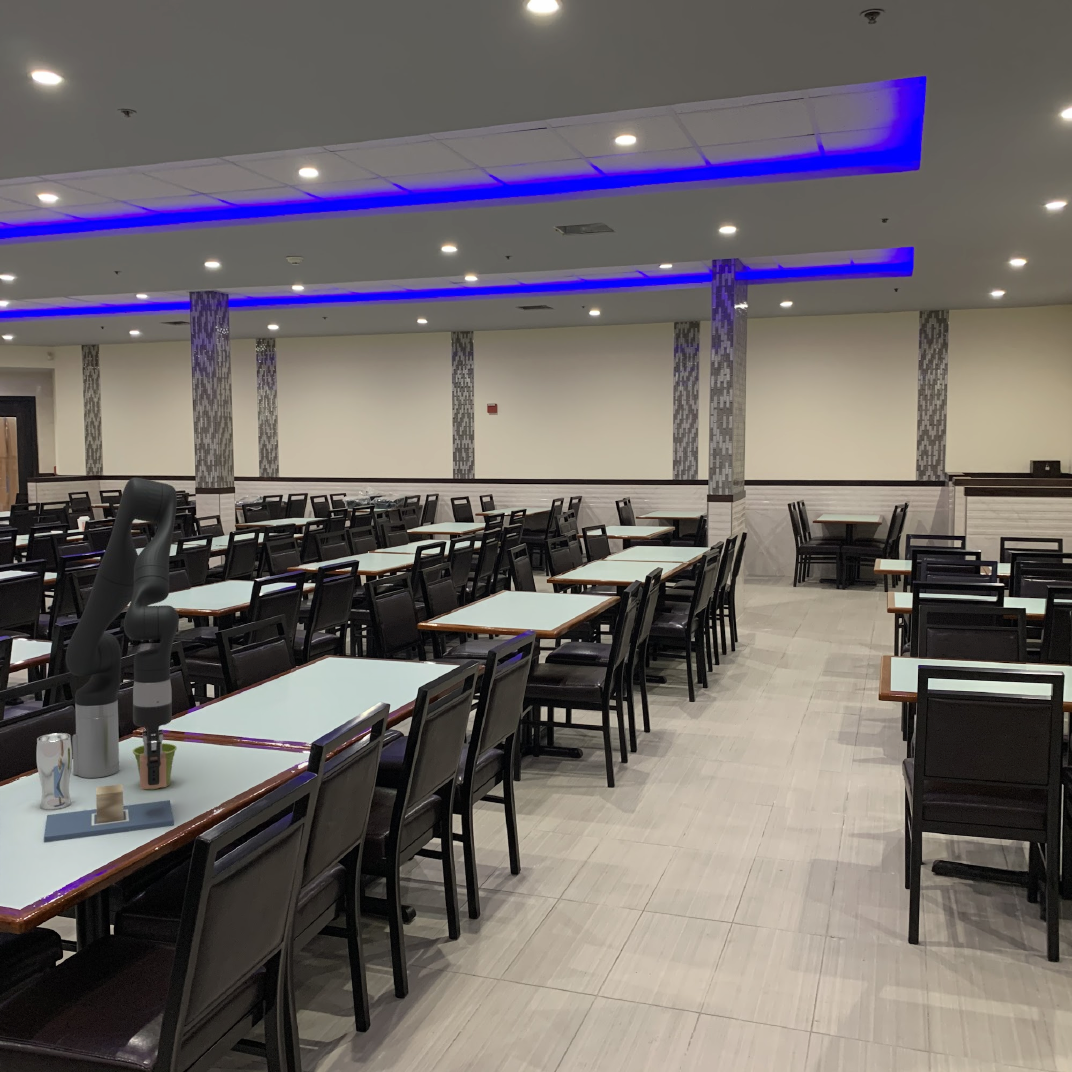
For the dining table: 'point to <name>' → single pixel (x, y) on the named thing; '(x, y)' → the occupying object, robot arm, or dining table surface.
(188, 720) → the dining table surface
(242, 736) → the dining table surface
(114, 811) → the maple block
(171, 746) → the plant pot
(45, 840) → the board
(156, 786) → the terracotta block
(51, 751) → the beer glass
